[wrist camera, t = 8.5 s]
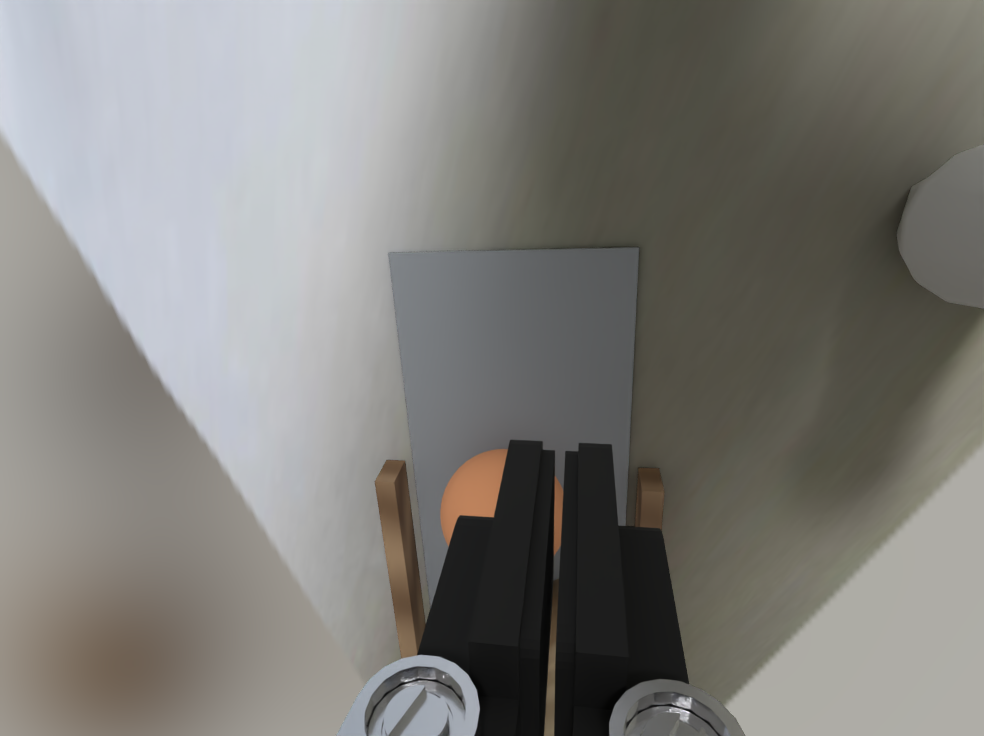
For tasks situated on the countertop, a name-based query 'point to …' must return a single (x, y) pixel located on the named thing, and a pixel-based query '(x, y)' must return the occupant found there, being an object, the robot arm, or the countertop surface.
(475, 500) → the ball
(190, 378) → the countertop surface
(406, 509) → the lane rail
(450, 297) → the plate
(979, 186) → the salt shaker
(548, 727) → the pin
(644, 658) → the robot arm
